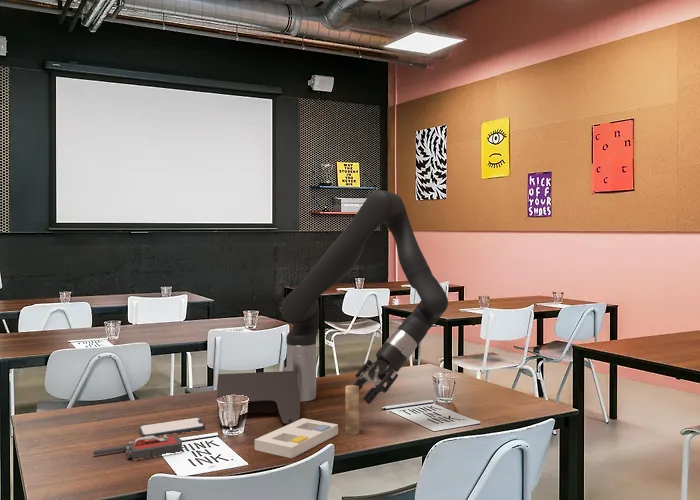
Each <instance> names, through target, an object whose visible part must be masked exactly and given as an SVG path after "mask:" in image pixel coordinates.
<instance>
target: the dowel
mask: <svg viewBox="0 0 700 500" xmlns="http://www.w3.org/2000/svg"><path fill="white" fill-rule="evenodd" d="M344 390H345V393H344V394H345V434H347V435H351V436H354V435H355V436H356V435H358V434H359V433H360V391H359V386H357V385H354V384H349V385H348V384H347V385H346V386H345V389H344Z"/></svg>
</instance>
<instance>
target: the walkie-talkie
mask: <svg viewBox="0 0 700 500" xmlns="http://www.w3.org/2000/svg"><path fill="white" fill-rule="evenodd" d="M182 441H183V440H182V439H181V438H180V437H179V435H171V436H166V435H163V436H162V437H155V436H153V435H151V436H145V437H141V436H140V437H139V436H138V437H136V438H135V439H134V440H133V441H129V442H128V443H127V444H124V445H121V446H115V447H110V448H109V447H108V448H102V449H95V450H93V452H92V453H93V455H94V456H96V455H102V454H103V455H104V454H109V453H116V452H121V451H123V452H125V454H126V453H127V454H126V455H127V457H128V458H130V459H131V458H132V459H139V458H147V457H154V456H159V455H162V454H166V453H174V452H180V451H182V452H183V442H182ZM126 450H127V451H126ZM128 458H127V459H128ZM132 459H131V460H132Z"/></svg>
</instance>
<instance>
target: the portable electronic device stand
mask: <svg viewBox="0 0 700 500" xmlns="http://www.w3.org/2000/svg"><path fill="white" fill-rule="evenodd" d="M216 389H217V392H216V393H217V394H216V397H217V399H216V400H218V398H220V397H223V396H226V395H231V394H236V395H244V396H247V397H248V398H249V401H248V402H249V403H248V414H252V413H258V412H259V413H260V412H261V413H271V414H273V413H274V414H275V413H277V410H278V414H279V416H280V419H281V422H282V424H284V425H289V424H291V423H293V422H295V421H298V420H300V419H301V401H300V395H299V387H298V380H297V375H296V371H284V370H283V371H282V370H281V371H264V372H263V371H259V372H239V373H218V374H217V387H216ZM217 414H218V421H219V424H220V425H221V426H222V423H221V420H220V417H219V407H218V402H217ZM248 414H247V415H248Z"/></svg>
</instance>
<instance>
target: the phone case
mask: <svg viewBox="0 0 700 500" xmlns="http://www.w3.org/2000/svg"><path fill="white" fill-rule="evenodd" d="M204 429H205V430H206V425H205V424H204V422H203V421H202V419H201V418H199V417H194V418H193V417H192V418H185V419H179V420H174V421H173V420H172V421H166V422H157V423H154V424H153V423H151V424H146V425H140V426H139V427H138V432H139V431H140V432H139V434H140V433H141V435H140V437H141V436H142V437H145V436H151V435H153V436H159V435H164V434H173V433H182V432H191V431H199V432H202V431H201V430H204ZM205 430H204V431H205Z"/></svg>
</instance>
